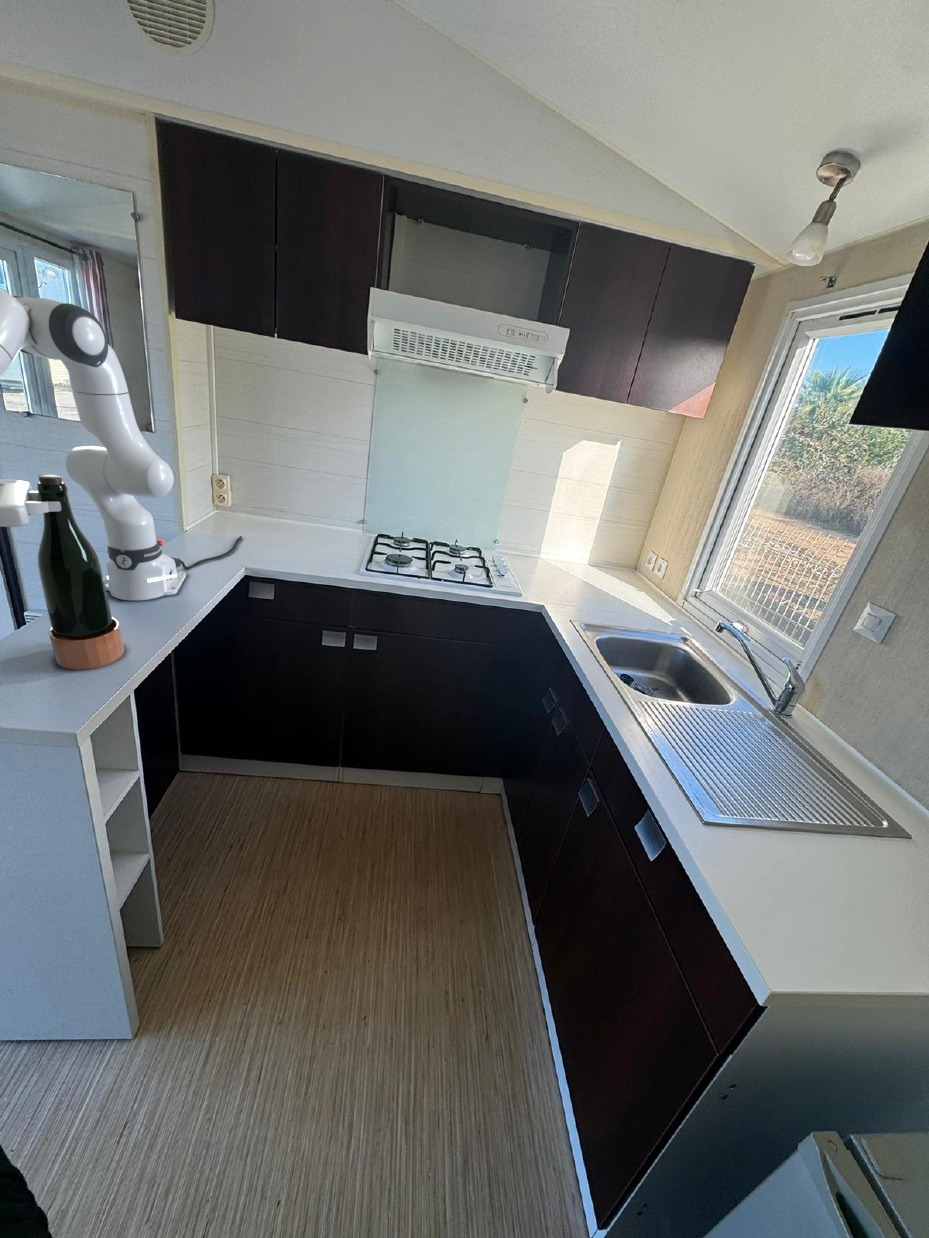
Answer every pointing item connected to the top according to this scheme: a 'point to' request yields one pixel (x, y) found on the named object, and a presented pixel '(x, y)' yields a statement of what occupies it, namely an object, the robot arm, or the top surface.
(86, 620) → the green wine bottle
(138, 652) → the top surface
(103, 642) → the copper bottle coaster
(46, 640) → the top surface
